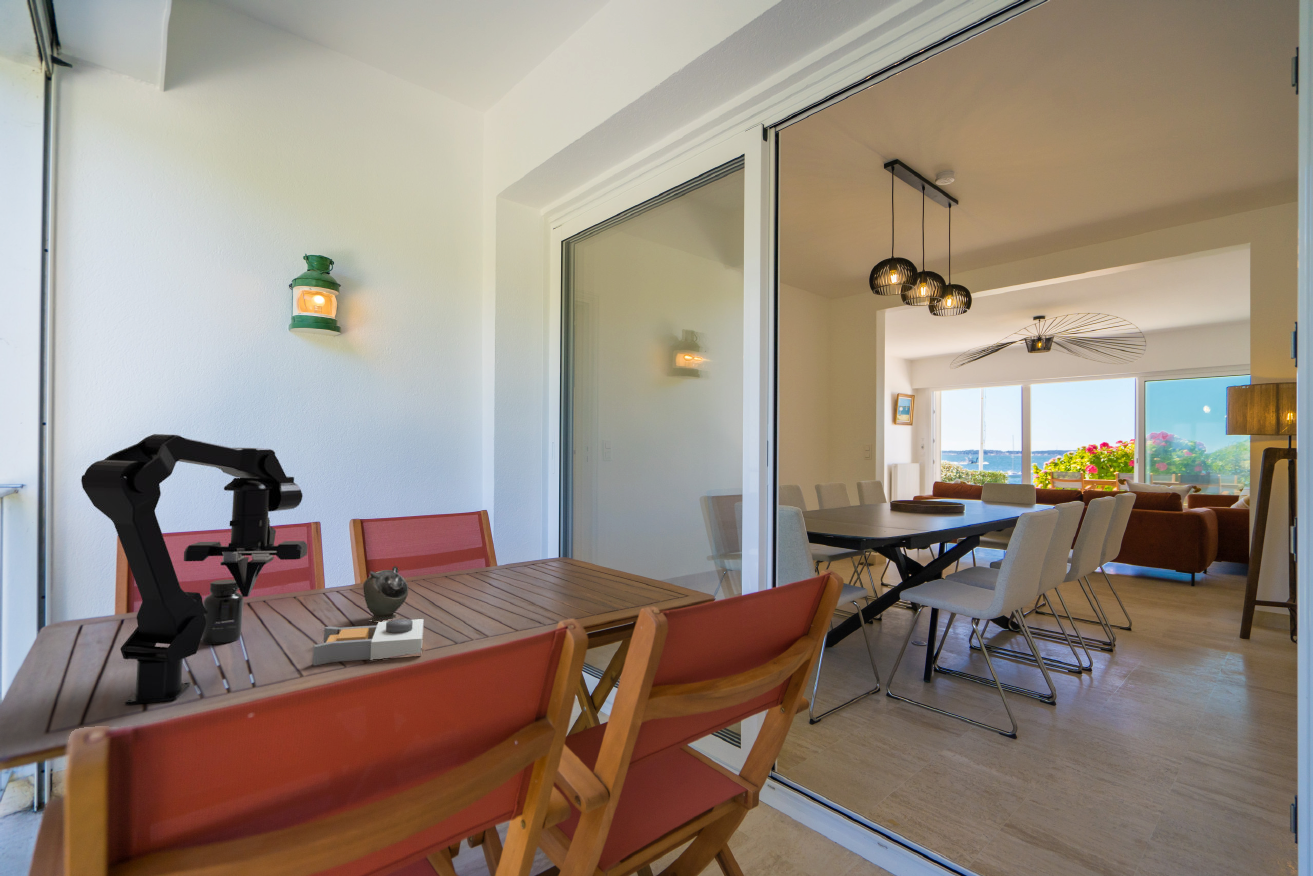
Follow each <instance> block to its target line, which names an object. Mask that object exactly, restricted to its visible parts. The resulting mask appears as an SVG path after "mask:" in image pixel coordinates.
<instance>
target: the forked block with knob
mask: <svg viewBox="0 0 1313 876" xmlns="http://www.w3.org/2000/svg"><path fill="white" fill-rule="evenodd" d="M424 619H425V618H420V619H418V618H417V619H408V618H400V619H396V620H391V621H382V622H378V623H377V624H376V625H363V626H359V625H358V626H346V627H345V626H344V627H338V626H329V625H328V626H326V627H324V630H323V632H324V633H323V643H318V644H314V645H313V646H312V661H311V662H312V665H313V666H315V667H316V666H321V665H323V664H324V665H325V664H329V663H336V662H350V661H351V662H352V661H361V660H362V661H364V660H370V661H374V660H373V659H381V658H388V657H390V656H397V655H405V654H415V653H421V654H422V650H421V648H422V647H423V640H424V639H423V638H424ZM356 628H369V634H368V639H363V640H348V641H333V642H332V643H331V642H327V640H328V638H329V636H330V635H339V633H340V631H341V630H342V629H356ZM422 639H423V640H422ZM326 642H327V643H326ZM422 649H423V648H422Z"/></svg>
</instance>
